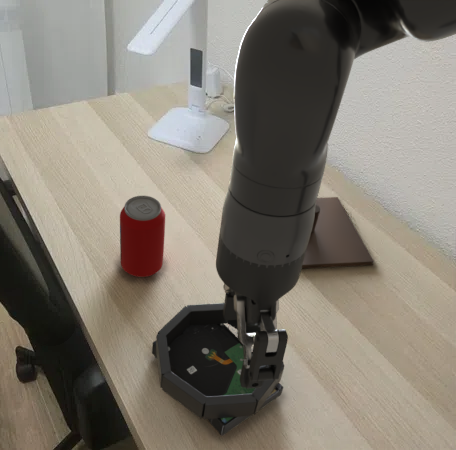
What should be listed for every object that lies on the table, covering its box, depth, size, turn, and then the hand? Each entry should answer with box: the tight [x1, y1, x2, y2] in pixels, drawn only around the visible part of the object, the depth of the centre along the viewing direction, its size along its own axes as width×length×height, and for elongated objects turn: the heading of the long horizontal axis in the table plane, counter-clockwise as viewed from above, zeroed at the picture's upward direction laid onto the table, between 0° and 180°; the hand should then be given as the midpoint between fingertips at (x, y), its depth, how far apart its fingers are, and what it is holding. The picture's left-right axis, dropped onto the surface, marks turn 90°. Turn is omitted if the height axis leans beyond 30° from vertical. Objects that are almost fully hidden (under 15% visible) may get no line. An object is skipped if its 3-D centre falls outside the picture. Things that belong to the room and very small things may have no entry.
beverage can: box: [119, 195, 166, 278], centre depth 84 cm, size 7×7×12 cm
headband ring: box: [155, 302, 285, 420], centre depth 70 cm, size 15×15×3 cm
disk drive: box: [151, 324, 284, 437], centre depth 72 cm, size 10×3×15 cm
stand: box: [301, 196, 375, 269], centre depth 93 cm, size 17×17×6 cm
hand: (241, 348), depth 58 cm, fingers open, 8 cm apart
